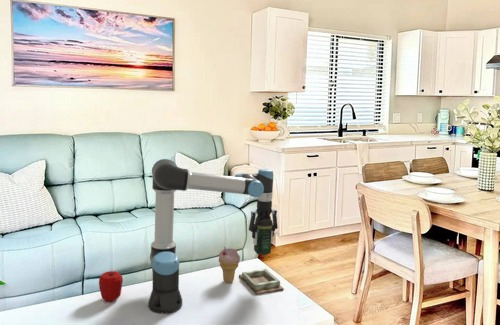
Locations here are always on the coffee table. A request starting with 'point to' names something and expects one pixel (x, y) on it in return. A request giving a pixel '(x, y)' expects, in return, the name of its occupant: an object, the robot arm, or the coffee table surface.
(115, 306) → the coffee table surface
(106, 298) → the apple
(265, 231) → the coffee jar
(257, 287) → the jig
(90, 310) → the coffee table surface
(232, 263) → the ice cream cone
